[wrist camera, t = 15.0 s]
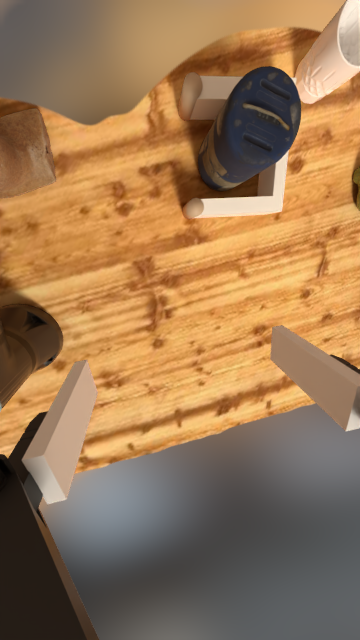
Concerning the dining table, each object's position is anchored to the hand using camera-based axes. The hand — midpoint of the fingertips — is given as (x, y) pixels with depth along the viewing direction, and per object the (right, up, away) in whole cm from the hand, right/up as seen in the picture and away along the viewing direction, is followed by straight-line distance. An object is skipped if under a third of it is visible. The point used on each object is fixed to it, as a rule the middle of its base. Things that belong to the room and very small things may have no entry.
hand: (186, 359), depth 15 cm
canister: (+7, +32, +25) cm, 41 cm away
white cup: (+23, +45, +22) cm, 55 cm away
